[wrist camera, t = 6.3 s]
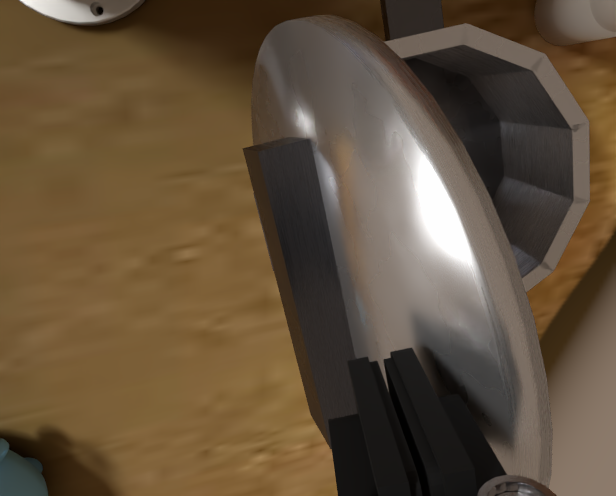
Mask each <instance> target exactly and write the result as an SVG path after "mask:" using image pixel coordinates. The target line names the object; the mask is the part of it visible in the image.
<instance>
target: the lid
mask: <svg viewBox="0 0 616 496" xmlns="http://www.w3.org/2000/svg"><path fill="white" fill-rule="evenodd" d="M251 102H252V134H253V145H254V146H250V147H246V148H243V152H244V155H245V159H246V163H247V167H248V171H249V175H250V179H251V183H252V187H253V191H254V195H255V198H256V202H257V206H258V210H259V214H260V218H261V222H262V226H263V230H264V234H265V238H266V241H267V245H268V249H269V253H270V257H271V261H272V265H273V269H274V273H275V277H276V281H277V284H278V288H279V292H280V296H281V300H282V304H283V308H284V312H285V316H286V320H287V324H288V327H289V331H290V335H291V339H292V343H293V347H294V351H295V355H296V359H297V363H298V367H299V370H300V374H301V378H302V382H303V386H304V390H305V394H306V398H307V402H308V406H309V410H310V413H311V416H312V418H313V419H314V421H315V423H316V424H317V426H318V428H319V430H320V431H321V433H322V435H323V437H324V438H325V440H326V442H327V444H328V445H329V447H330V449H332V446H331V439H330V431H329V424H328V420H329V419H334V418H339V417H344V416H348V415H353V414H358V412H357V407H356V403H355V398H354V393H353V388H352V383H351V378H350V373H349V369H348V364H347V361H348V360H353V359H358V358H363V357H368V358H369V361H370V362H372V361H378V363H379V366H380V369H381V372H382V375H383V377H384V380H385V383H386V386H387V389H388V384H387V378H386V373H385V367H384V359H387V358H391V356H390V352H392V351H397V350H401V349H406V348H412V349H413V350H414V352H415V354H416V356H417V358H418V360H419V362H420V364H421V366H422V368H423V370H424V371H425V373H426V375H427V377H428V379H429V381H430V383H431V385H432V387H433V389H434V391H435V393H436V395H437V397H441V396H446V395H451V394H456V393H457V394H459V395H460V397H461V398H462V400H463V401H464V403H465V405H466V406H467V408H468V410H469V411H470V413H471V415H472V416H473V418H474V420H475V421H476V423H477V425H478V426H479V428H480V430H481V431H482V433H483V435H484V437H485V438H486V440H487V442H488V443H489V445H490V447H491V448H492V450H493V452H494V453H495V455H496V457H497V458H498V460H499V462H500V463H501V465H502V467H503V468H504V470H505V472H506V473H507V475H518V476H523V477H527V478H530V479H534V480H535V481H537V482H539V483H541V484H543V485H545V486H546V487H547V488H549V483H550V478H551V465H552V422H551V413H550V404H549V395H548V385H547V376H546V372H545V367H544V363H543V358H542V353H541V348H540V344H539V339H538V334H537V330H536V325H535V320H534V316H533V313H532V310H531V307H530V304H529V300H528V297H527V294H526V291H525V288H524V284H523V281H522V278H521V275H520V272H519V268H518V265H517V262H516V259H515V256H514V253H513V251H512V248H511V246H510V243H509V241H508V239H507V236H506V234H505V231H504V229H503V226H502V224H501V221H500V219H499V217H498V214H497V212H496V209H495V207H494V204H493V202H492V199H491V197H490V195H489V193H488V191H487V189H486V187H485V185H484V183H483V181H482V179H481V177H480V176H479V174H478V172H477V170H476V168H475V166H474V164H473V162H472V160H471V158H470V156H469V154H468V152H467V150H466V148H465V146H464V144H463V143H462V141H461V139H460V138H459V136H458V135H457V133H456V131H455V130H454V128H453V127H452V125H451V124H450V122H449V121H448V119H447V117H446V116H445V114H444V113H443V111H442V110H441V108H440V107H439V105H438V103H437V102H436V100H435V99H434V97H433V96H432V95H431V93H430V92H429V91H428V90H427V88H426V87H425V86H424V85H423V83H422V82H421V81H420V80H419V79H418V77H417V76H416V75H415V74H414V72H413V71H412V70H411V69H410V67H409V66H408V65H407V64H406V63H405V61H404V60H403V59H402V58H400V57H399V56H398V55H397V54H396V53H395V52H394V51H393V50H392V49H391V48H390V47H389V46H388V45H387V44H385V43H384V42H383V41H382V40H381V39H380V38H379V37H378V36H376V35H375V34H373V33H372V32H370V31H369V30H367V29H365V28H364V27H362V26H361V25H359V24H358V23H356V22H354V21H351V20H348V19H345V18H342V17H339V16H336V15H315V16H310V17H304V18H299V19H293V20H288V21H285V22H283V23H281V24H279V25H276V26H275V27H274V28H273V29H272V30H271V31H270V32H269V33H268V34H267V36H266V37H265V39H264V41H263V43H262V45H261V47H260V50H259V53H258V57H257V60H256V64H255V69H254V76H253V84H252V99H251ZM388 391H389V390H388Z"/></svg>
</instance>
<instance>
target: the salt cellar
mask: <svg viewBox="0 0 616 496" xmlns="http://www.w3.org/2000/svg"><path fill="white" fill-rule="evenodd" d="M534 17H535V24H536V27H537V30H538V32H539V34H540V35H541V36H542V37H543V38H544V39H545V40H546V41H547V42H549V43H551V44H553V45H558V46H566V45H572V44H578V43H583V42H589V41H595V40H600V39H606V38H612V37H616V0H537V1H536V5H535V12H534Z"/></svg>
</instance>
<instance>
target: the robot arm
mask: <svg viewBox="0 0 616 496" xmlns="http://www.w3.org/2000/svg"><path fill="white" fill-rule="evenodd" d="M19 1H20V2H21V3H23V4H24V5H25V6H27V7H29V8H30V9H32V10H34V11H36V12H38V13H39V14H41V15H43V16H46V17H49V18H51V19H54V20H57V21H60V22H64V23H69V24H73V25H85V26H95V25H101V24H106V23H111V22H113V21H116V20H118V19H121V18H123V17H125V16H127V15H128V14H130V13H131V12H133V11H134V10H135V9H137V8H138V7H140V6H141V4H142V3H143V2H144V1H145V0H19ZM101 7H102V8H103V11H104V12H103V14H102V15H100V14H99V13H98V10H99V8H101ZM390 356H391V358H387V359H384V367H385V373H386V378H387V384H388V389H387V386H386V383H385V380H384V377H383V375H382V372H381V369H380V366H379V363H378V361H372V362H370V361H369V358H368V357H363V358H358V359H353V360H348V361H347V364H348V369H349V373H350V378H351V383H352V388H353V393H354V398H355V403H356V407H357V412H358V414H353V415H348V416H344V417H339V418H334V419H329V420H328V424H329V431H330V439H331V446H332V454H333V461H334V468H335V476H336V483H337V491H338V496H556V495H555V494H554V493H553V492H552V491H551V490H550V489H549V488H547V487H546V486H545V485H543V484H541V483H539V482H537V481H535V480H534V479H530V478H527V477H523V476H518V475H507V473H506V472H505V470H504V468H503V467H502V465H501V463H500V462H499V460H498V458H497V457H496V455H495V453H494V452H493V450H492V448H491V447H490V445H489V443H488V442H487V440H486V438H485V437H484V435H483V433H482V431H481V430H480V428H479V426H478V425H477V423H476V421H475V420H474V418H473V416H472V415H471V413H470V411H469V410H468V408H467V406H466V405H465V403H464V401H463V400H462V398H461V397H460V395H459V394H457V393H456V394H451V395H446V396H441V397H437V395H436V393H435V391H434V389H433V387H432V385H431V383H430V381H429V379H428V377H427V375H426V373H425V371H424V370H423V368H422V366H421V364H420V362H419V360H418V358H417V356H416V354H415V352H414V350H413V349H412V348H406V349H401V350H397V351H392V352H390ZM388 390H389V391H388Z"/></svg>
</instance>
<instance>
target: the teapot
mask: <svg viewBox="0 0 616 496" xmlns="http://www.w3.org/2000/svg"><path fill="white" fill-rule="evenodd" d="M42 471H43V466H42V464H41V463H40V462H39V461H38V460H37V459H34V458H29V457H27V458H23V457H21V456H20V455H18V454H17V453H15V452H13V451H11V450H9V444H8V442H7V441H6V440H4V439H2V438H0V496H48V490H47V486H46V482H45V479H44V477H43V475H42V474H41V473H42Z"/></svg>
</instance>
